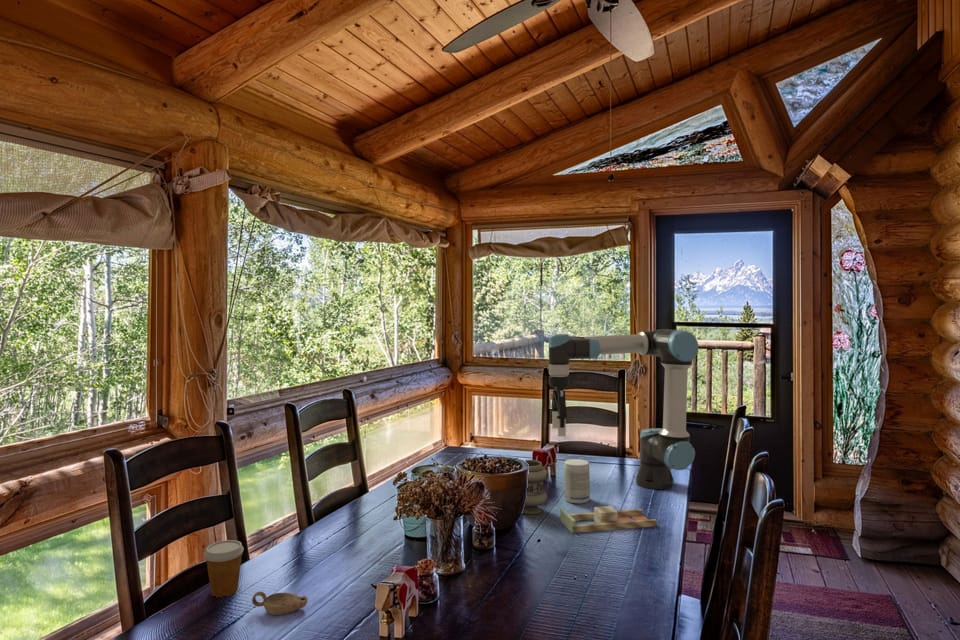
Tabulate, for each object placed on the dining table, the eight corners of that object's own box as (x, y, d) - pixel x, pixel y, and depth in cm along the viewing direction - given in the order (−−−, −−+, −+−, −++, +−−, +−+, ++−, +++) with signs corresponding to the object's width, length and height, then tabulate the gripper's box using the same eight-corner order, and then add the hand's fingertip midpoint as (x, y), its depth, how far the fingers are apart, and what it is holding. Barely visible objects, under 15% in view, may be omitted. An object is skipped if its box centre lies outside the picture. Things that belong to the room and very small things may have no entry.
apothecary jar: (508, 514, 214) (508, 464, 214) (521, 504, 225) (521, 456, 224) (539, 520, 209) (539, 468, 208) (552, 509, 219) (552, 460, 219)
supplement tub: (594, 500, 230) (594, 462, 229) (579, 506, 223) (579, 466, 223) (574, 494, 237) (574, 457, 236) (558, 500, 230) (559, 461, 230)
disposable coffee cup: (232, 580, 164) (232, 536, 163) (251, 590, 158) (250, 545, 157) (197, 593, 156) (197, 547, 156) (215, 604, 150) (215, 557, 150)
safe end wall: (563, 520, 209) (563, 508, 208) (575, 532, 197) (575, 520, 197) (560, 520, 208) (560, 509, 208) (571, 532, 197) (571, 520, 197)
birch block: (610, 520, 209) (610, 505, 209) (617, 526, 203) (617, 511, 203) (593, 521, 208) (593, 507, 208) (600, 527, 202) (600, 513, 202)
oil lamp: (310, 603, 151) (310, 583, 151) (303, 619, 144) (302, 598, 144) (258, 604, 151) (257, 584, 151) (247, 620, 143) (247, 599, 143)
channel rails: (641, 514, 214) (641, 508, 214) (656, 526, 203) (656, 520, 203) (560, 520, 208) (561, 514, 208) (572, 532, 197) (572, 526, 197)
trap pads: (642, 515, 213) (642, 515, 213) (654, 524, 204) (654, 523, 204) (614, 518, 211) (614, 517, 211) (624, 526, 202) (624, 526, 202)
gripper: (544, 371, 236) (544, 425, 237) (553, 379, 211) (553, 439, 212) (563, 371, 237) (563, 425, 237) (575, 379, 212) (574, 439, 212)
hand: (558, 432), depth 225 cm, fingers open, 13 cm apart
